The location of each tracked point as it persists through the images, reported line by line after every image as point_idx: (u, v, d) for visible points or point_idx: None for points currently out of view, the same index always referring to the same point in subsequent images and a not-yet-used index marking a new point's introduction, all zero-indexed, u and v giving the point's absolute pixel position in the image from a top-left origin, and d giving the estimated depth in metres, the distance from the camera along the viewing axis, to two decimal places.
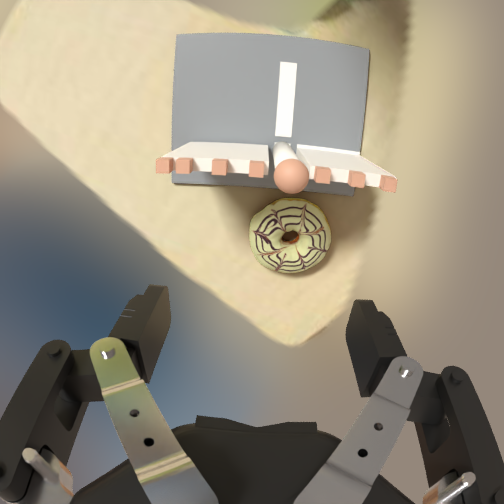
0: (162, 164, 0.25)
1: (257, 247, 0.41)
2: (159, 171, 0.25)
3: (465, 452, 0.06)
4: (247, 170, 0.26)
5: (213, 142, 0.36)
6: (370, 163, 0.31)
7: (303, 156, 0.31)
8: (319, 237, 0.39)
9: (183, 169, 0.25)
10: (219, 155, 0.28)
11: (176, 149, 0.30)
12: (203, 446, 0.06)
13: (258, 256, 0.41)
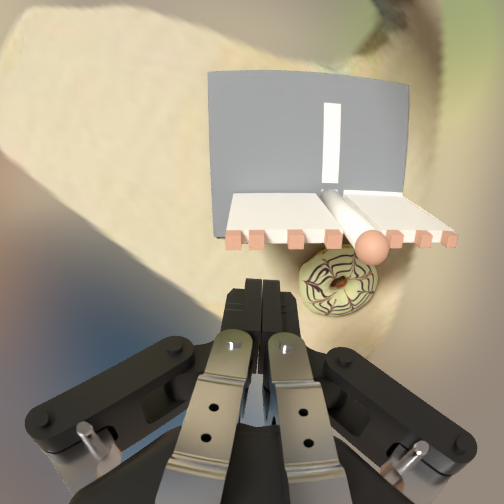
0: (233, 240, 0.24)
1: (308, 296, 0.40)
2: (229, 248, 0.24)
3: (400, 426, 0.07)
4: (321, 239, 0.25)
5: (259, 193, 0.36)
6: (421, 210, 0.31)
7: (362, 211, 0.30)
8: (368, 280, 0.38)
9: (257, 245, 0.24)
10: (287, 222, 0.27)
11: (231, 211, 0.29)
12: None
13: (309, 304, 0.40)
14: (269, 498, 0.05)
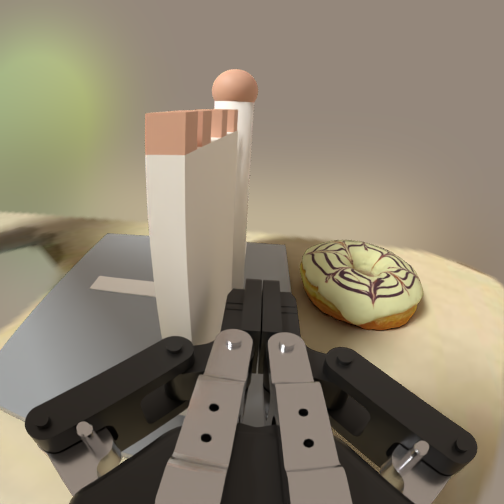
0: None
1: (396, 294, 0.21)
2: (184, 112, 0.08)
3: (400, 426, 0.07)
4: (227, 132, 0.15)
5: None
6: None
7: None
8: (346, 241, 0.27)
9: (197, 110, 0.10)
10: None
11: None
12: None
13: (410, 294, 0.21)
14: (269, 498, 0.05)
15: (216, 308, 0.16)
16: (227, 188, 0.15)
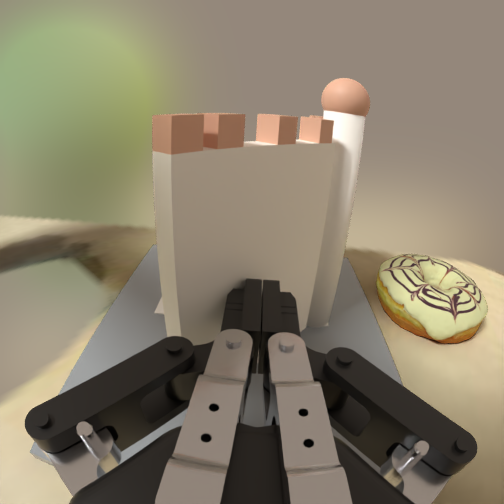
0: (174, 114, 0.09)
1: (471, 309, 0.19)
2: (177, 115, 0.09)
3: (400, 426, 0.07)
4: (312, 142, 0.14)
5: None
6: None
7: None
8: (414, 255, 0.26)
9: None
10: None
11: None
12: None
13: (480, 309, 0.19)
14: (269, 498, 0.05)
15: None
16: (300, 201, 0.15)
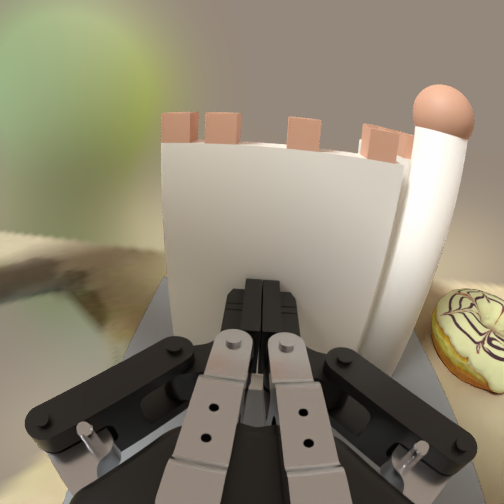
0: (181, 112, 0.12)
1: None
2: (170, 113, 0.11)
3: (400, 426, 0.07)
4: (361, 156, 0.11)
5: None
6: None
7: (387, 258, 0.15)
8: (469, 292, 0.20)
9: None
10: None
11: None
12: None
13: None
14: (269, 498, 0.05)
15: None
16: (330, 223, 0.12)
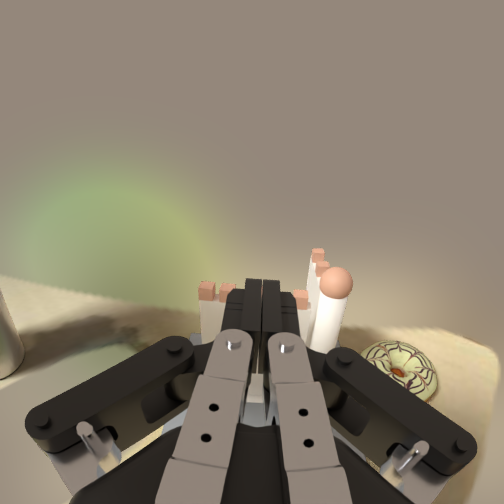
0: (207, 284, 0.27)
1: (420, 391, 0.28)
2: (202, 287, 0.26)
3: (400, 426, 0.07)
4: None
5: None
6: None
7: None
8: (386, 345, 0.35)
9: (227, 288, 0.26)
10: None
11: None
12: None
13: (428, 389, 0.28)
14: (269, 498, 0.05)
15: None
16: None
